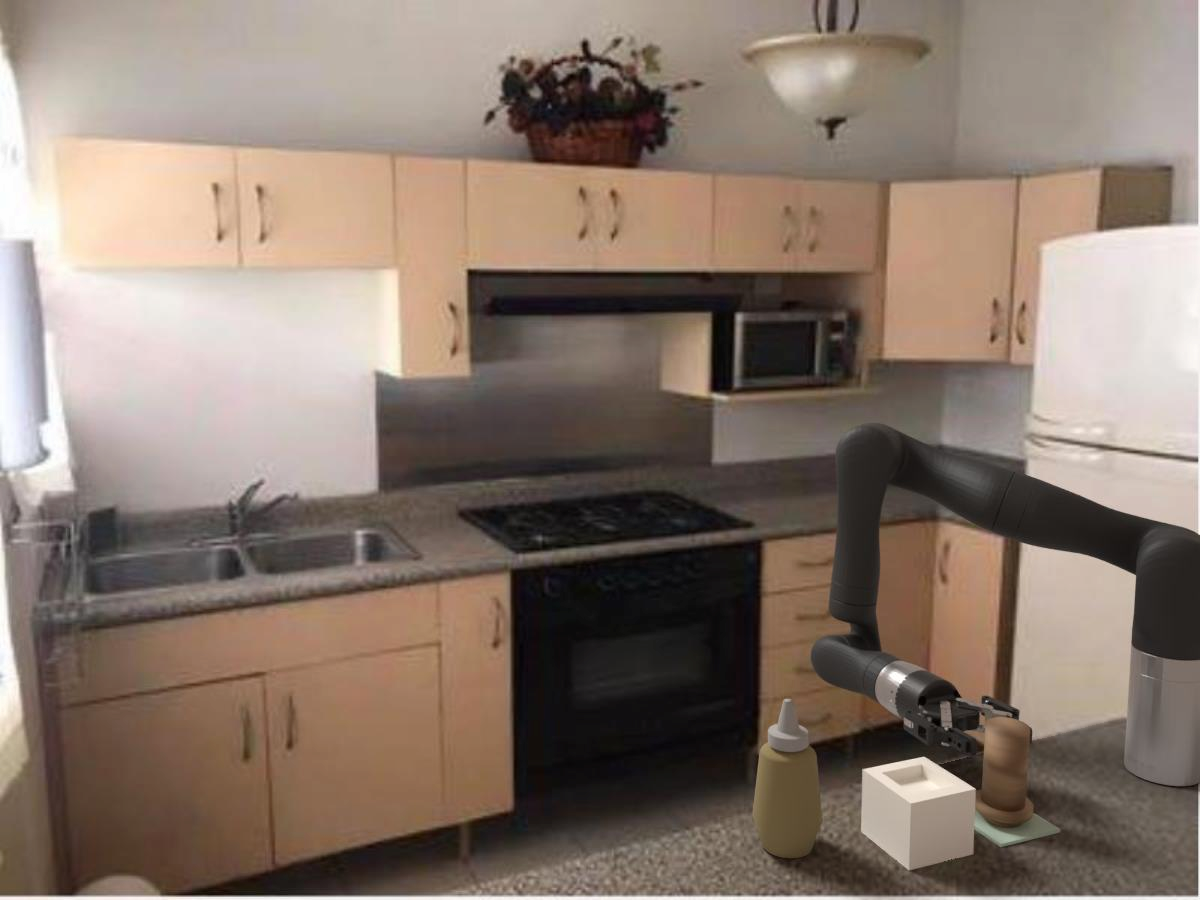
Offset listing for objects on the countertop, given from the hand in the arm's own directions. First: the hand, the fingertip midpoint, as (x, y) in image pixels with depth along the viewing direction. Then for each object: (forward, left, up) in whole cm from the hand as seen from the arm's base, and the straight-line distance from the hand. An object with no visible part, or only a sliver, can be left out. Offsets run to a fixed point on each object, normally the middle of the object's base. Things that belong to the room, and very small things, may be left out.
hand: (1002, 742), depth 120 cm
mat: (0, +1, -10) cm, 10 cm away
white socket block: (+13, +1, -10) cm, 16 cm away
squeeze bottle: (+28, -4, -10) cm, 30 cm away
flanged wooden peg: (0, +1, -9) cm, 10 cm away
